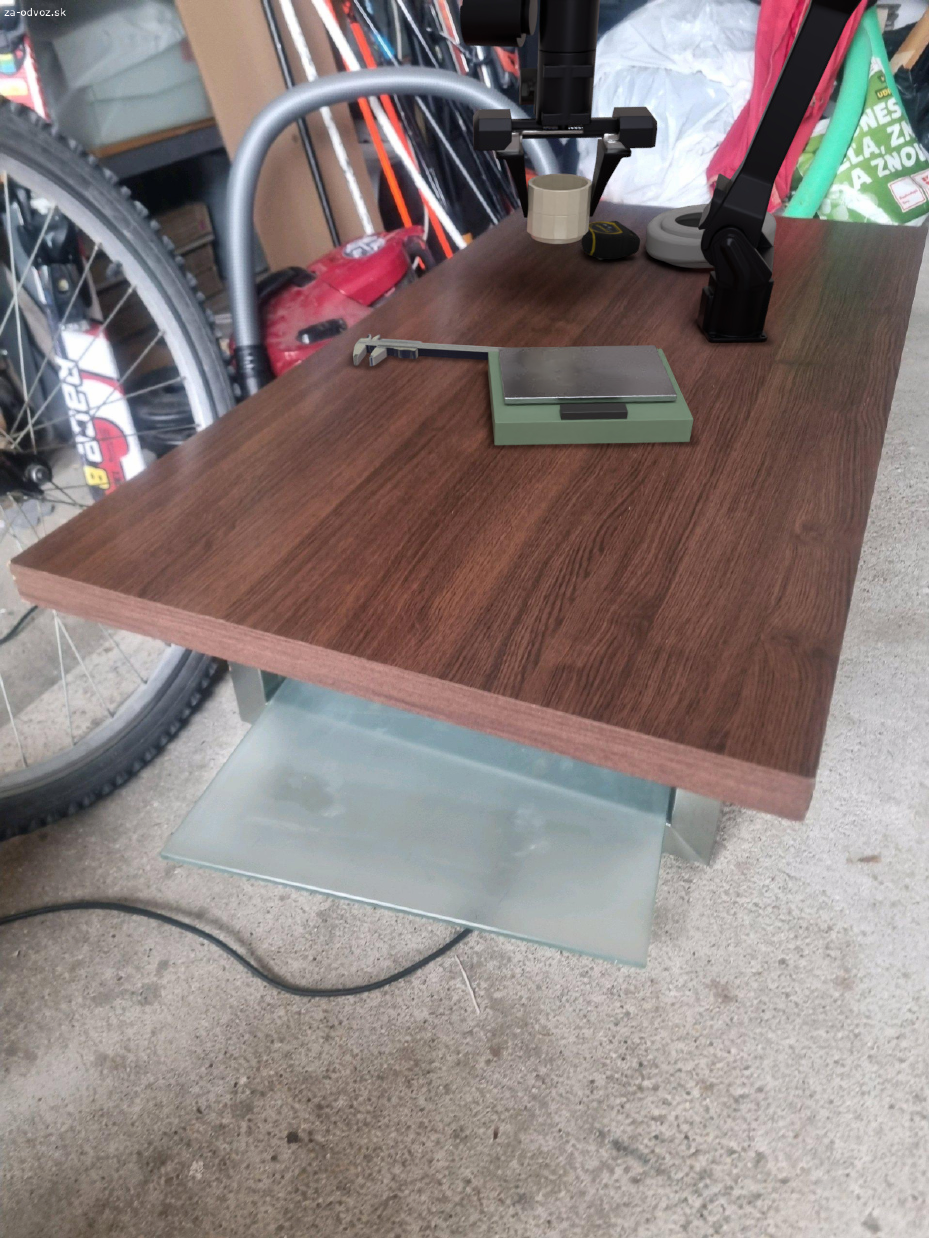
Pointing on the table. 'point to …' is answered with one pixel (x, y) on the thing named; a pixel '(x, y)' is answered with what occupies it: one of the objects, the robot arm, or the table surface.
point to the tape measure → (609, 240)
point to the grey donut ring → (685, 236)
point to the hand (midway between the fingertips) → (558, 216)
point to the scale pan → (584, 374)
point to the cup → (558, 208)
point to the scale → (587, 418)
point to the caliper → (415, 350)
